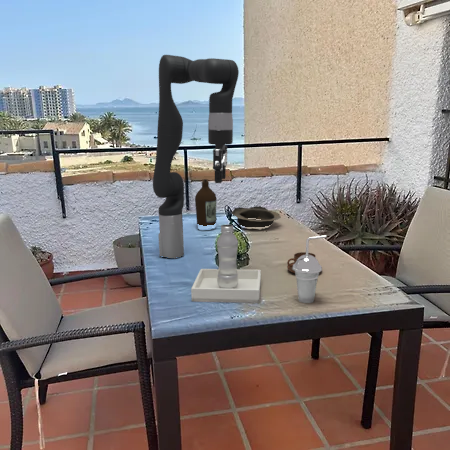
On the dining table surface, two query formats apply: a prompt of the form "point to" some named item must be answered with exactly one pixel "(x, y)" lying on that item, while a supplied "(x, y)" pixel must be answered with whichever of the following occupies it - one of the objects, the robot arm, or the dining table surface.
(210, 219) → the olive oil
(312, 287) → the cup with straw
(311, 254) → the cup and saucer
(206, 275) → the tray
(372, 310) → the dining table surface
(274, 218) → the stone bowl
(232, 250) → the plastic bottle
